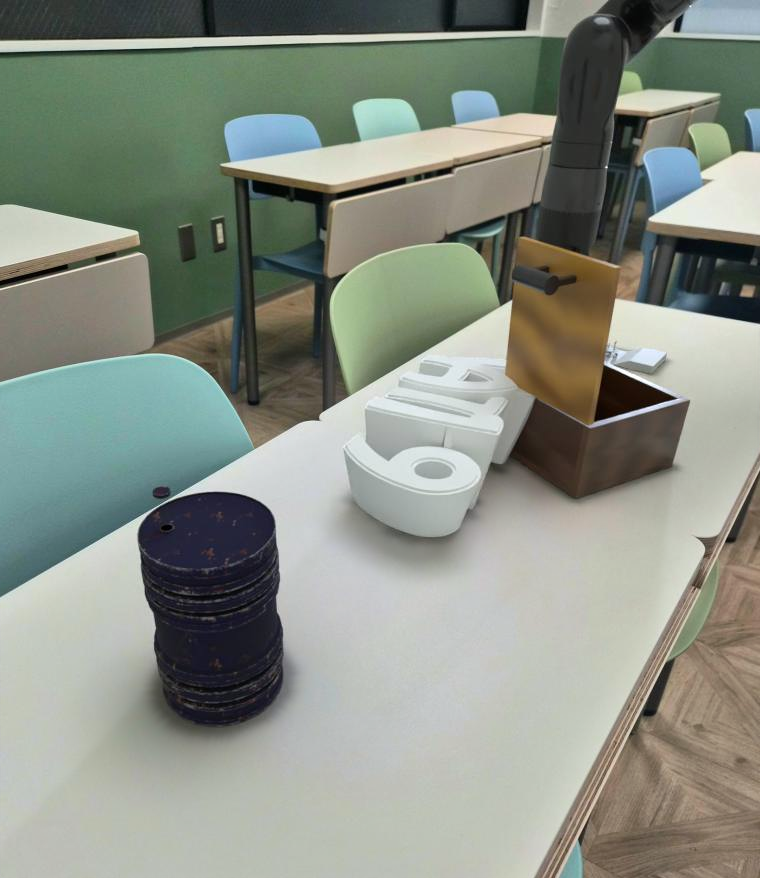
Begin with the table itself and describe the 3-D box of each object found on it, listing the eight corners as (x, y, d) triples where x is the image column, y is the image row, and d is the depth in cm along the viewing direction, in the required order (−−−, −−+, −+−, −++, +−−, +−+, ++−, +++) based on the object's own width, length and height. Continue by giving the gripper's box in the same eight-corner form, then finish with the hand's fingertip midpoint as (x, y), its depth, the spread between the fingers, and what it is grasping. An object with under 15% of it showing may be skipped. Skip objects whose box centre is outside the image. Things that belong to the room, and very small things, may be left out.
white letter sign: (446, 404, 103) (452, 332, 98) (561, 431, 96) (574, 355, 91) (308, 521, 78) (306, 432, 72) (450, 571, 70) (460, 477, 65)
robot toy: (651, 373, 115) (655, 358, 114) (578, 356, 121) (580, 342, 120) (665, 360, 120) (668, 345, 119) (594, 344, 126) (597, 330, 125)
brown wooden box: (589, 421, 100) (602, 360, 96) (672, 466, 90) (690, 399, 85) (497, 447, 94) (506, 382, 89) (575, 499, 83) (590, 428, 79)
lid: (524, 236, 80) (486, 243, 78) (621, 266, 70) (580, 275, 68) (509, 378, 89) (474, 387, 87) (593, 424, 79) (556, 436, 77)
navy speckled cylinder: (288, 636, 64) (280, 455, 54) (281, 727, 55) (271, 531, 46) (173, 637, 63) (145, 455, 54) (149, 728, 55) (111, 532, 46)
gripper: (636, 212, 88) (608, 340, 96) (554, 192, 98) (535, 309, 107) (590, 217, 85) (565, 350, 93) (510, 196, 95) (495, 317, 104)
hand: (549, 328), depth 100 cm, fingers open, 8 cm apart
